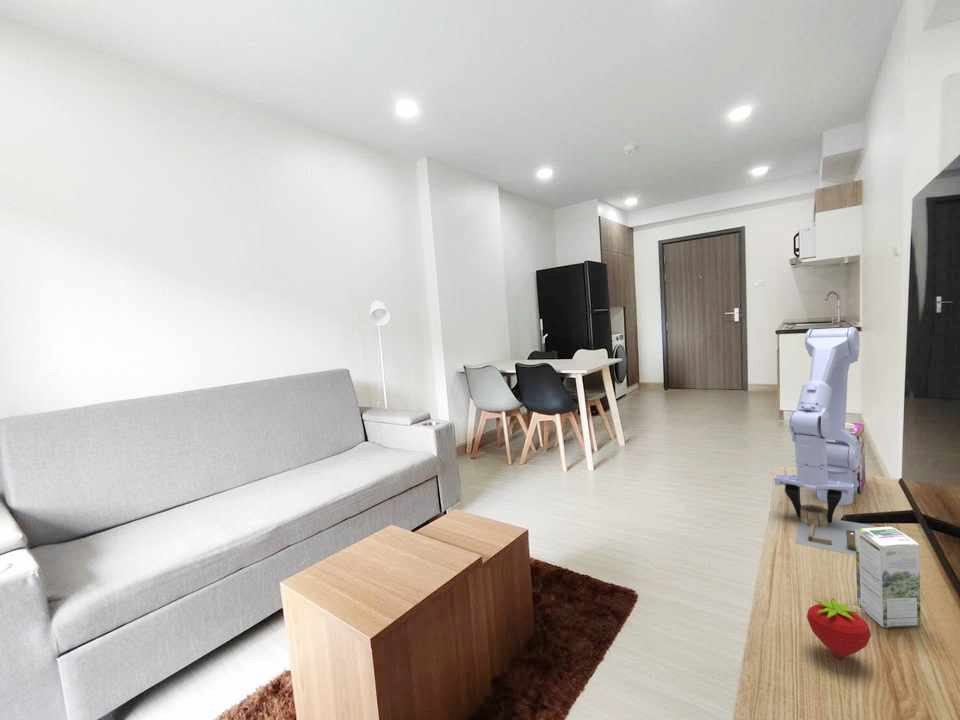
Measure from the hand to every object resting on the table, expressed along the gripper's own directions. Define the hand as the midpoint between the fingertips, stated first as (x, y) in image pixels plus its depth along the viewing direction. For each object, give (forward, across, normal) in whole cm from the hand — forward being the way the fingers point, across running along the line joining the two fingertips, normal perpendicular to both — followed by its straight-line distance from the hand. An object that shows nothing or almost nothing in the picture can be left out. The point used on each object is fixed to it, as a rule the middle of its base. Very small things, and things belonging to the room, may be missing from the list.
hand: (814, 518), depth 103 cm
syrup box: (+2, +12, -29) cm, 31 cm away
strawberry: (+2, +6, -43) cm, 43 cm away
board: (+2, +4, -4) cm, 6 cm away
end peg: (+1, +7, -10) cm, 12 cm away
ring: (+1, 0, 0) cm, 1 cm away
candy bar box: (+2, +6, +26) cm, 27 cm away
